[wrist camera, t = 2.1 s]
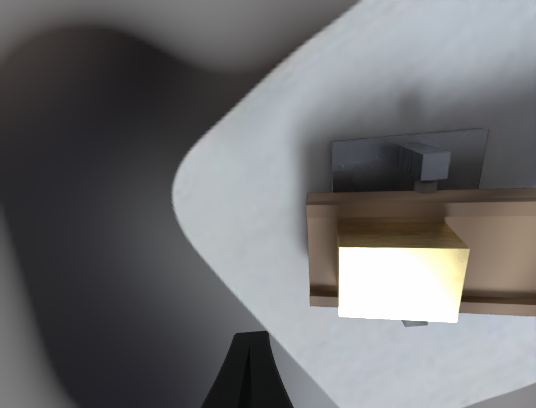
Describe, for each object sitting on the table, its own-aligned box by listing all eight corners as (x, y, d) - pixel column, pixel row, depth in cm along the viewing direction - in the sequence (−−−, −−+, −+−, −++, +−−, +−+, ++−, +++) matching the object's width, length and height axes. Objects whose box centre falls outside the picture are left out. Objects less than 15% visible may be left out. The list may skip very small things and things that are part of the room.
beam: (641, 171, 16) (699, 186, 14) (593, 298, 19) (634, 329, 17) (307, 181, 19) (305, 195, 17) (311, 288, 22) (310, 313, 20)
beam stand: (482, 128, 19) (531, 136, 16) (454, 291, 24) (487, 325, 21) (330, 141, 20) (345, 152, 16) (331, 301, 24) (343, 337, 21)
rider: (445, 222, 17) (469, 248, 14) (436, 286, 18) (456, 322, 16) (336, 222, 18) (339, 247, 15) (336, 283, 19) (339, 316, 17)
